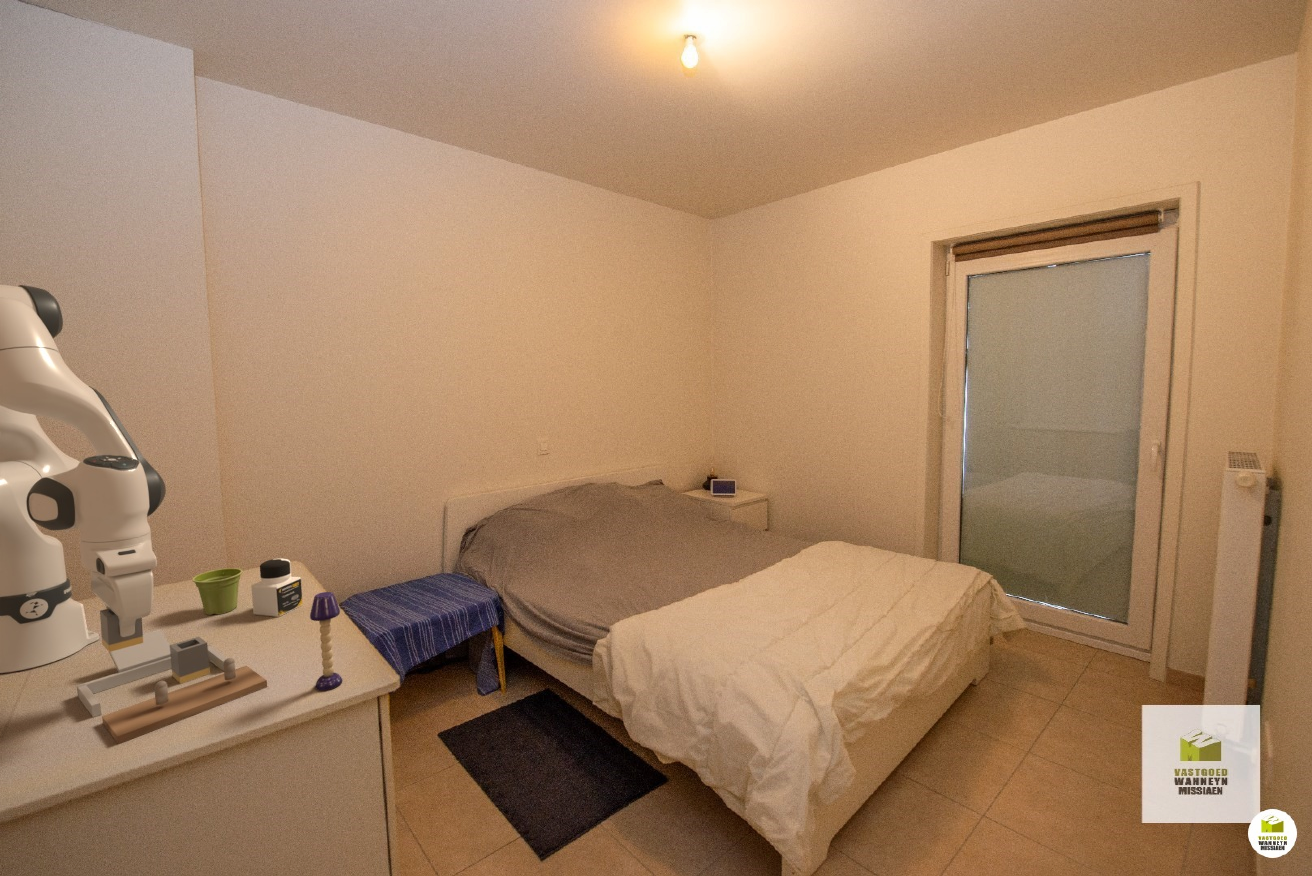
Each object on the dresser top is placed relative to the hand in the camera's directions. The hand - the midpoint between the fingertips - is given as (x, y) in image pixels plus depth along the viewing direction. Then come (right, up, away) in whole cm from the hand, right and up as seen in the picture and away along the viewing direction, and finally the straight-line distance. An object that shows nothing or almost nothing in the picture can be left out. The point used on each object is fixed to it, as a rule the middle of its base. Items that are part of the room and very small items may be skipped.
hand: (121, 629), depth 100 cm
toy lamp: (+33, -11, +5) cm, 35 cm away
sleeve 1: (0, -2, 0) cm, 2 cm away
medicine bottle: (+3, -8, +38) cm, 39 cm away
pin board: (+13, -12, -2) cm, 18 cm away
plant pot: (-11, -8, +38) cm, 40 cm away
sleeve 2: (+6, -11, +8) cm, 15 cm away
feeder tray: (-1, -11, +7) cm, 13 cm away
